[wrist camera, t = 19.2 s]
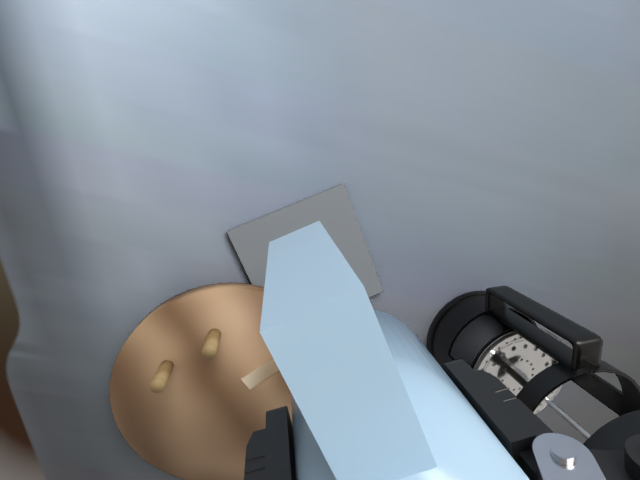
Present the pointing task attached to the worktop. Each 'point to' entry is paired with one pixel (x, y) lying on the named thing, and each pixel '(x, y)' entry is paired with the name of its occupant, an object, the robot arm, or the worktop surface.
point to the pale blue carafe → (364, 379)
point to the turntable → (197, 382)
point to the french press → (540, 358)
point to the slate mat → (322, 207)
